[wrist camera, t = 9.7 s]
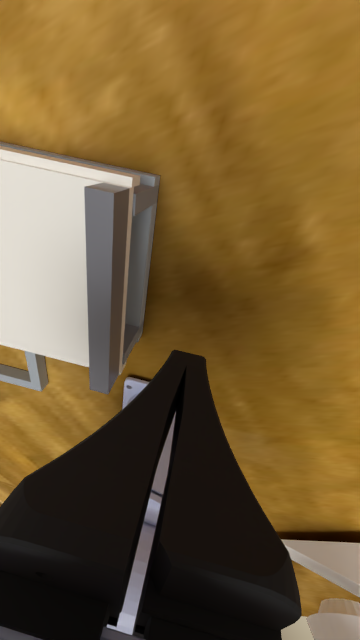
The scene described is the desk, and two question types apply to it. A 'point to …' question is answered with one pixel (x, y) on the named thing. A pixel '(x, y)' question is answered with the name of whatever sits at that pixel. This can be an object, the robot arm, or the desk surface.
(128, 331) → the gray square frame
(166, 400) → the robot arm
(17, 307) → the cover
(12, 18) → the desk surface
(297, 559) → the desk lamp
